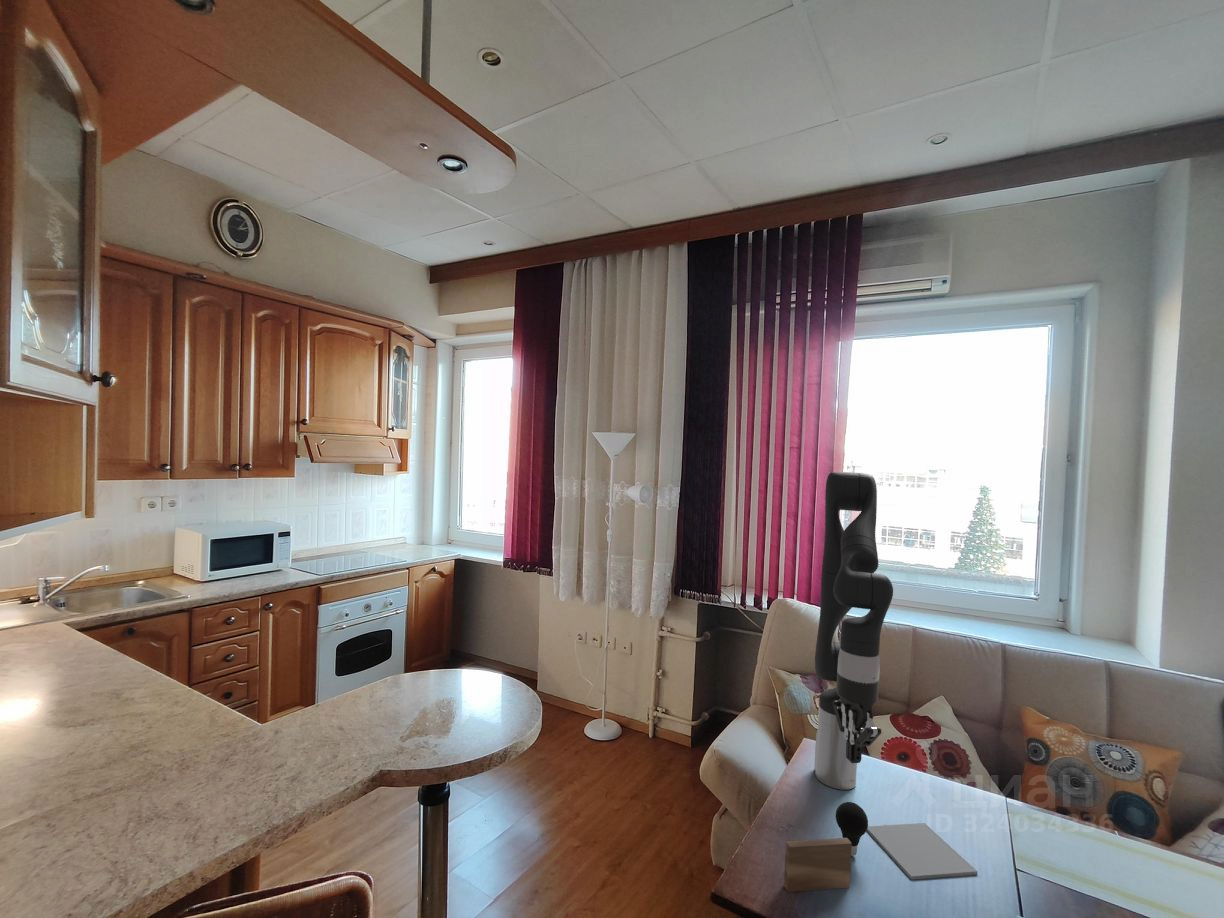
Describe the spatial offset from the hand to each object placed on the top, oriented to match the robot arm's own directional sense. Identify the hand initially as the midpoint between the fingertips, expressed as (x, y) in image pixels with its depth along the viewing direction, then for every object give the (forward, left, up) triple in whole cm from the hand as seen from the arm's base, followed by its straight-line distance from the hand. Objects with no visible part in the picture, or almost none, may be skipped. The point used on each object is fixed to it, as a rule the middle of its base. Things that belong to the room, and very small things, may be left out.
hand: (853, 760), depth 109 cm
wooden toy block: (+7, -11, -19) cm, 23 cm away
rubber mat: (0, +15, -19) cm, 24 cm away
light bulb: (0, 0, -19) cm, 19 cm away
